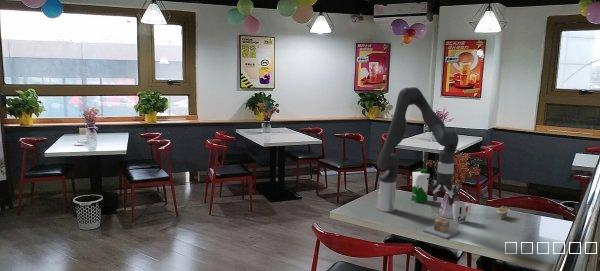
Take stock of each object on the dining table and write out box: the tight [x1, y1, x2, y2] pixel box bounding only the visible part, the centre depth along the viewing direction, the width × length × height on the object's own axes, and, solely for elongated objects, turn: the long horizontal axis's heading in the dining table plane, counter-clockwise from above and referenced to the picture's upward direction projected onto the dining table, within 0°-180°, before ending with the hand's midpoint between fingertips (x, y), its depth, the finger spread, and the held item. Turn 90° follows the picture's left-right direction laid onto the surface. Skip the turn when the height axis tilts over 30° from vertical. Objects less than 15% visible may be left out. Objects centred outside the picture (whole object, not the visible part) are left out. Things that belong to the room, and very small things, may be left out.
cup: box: [452, 200, 470, 224], centre depth 235 cm, size 8×8×10 cm
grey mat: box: [422, 224, 461, 240], centre depth 219 cm, size 13×13×1 cm
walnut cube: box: [433, 218, 450, 233], centre depth 219 cm, size 5×5×5 cm
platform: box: [496, 205, 511, 221], centre depth 242 cm, size 12×18×7 cm, turn 134°
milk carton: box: [411, 168, 431, 204], centre depth 270 cm, size 9×9×20 cm
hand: (443, 202), depth 217 cm, fingers open, 8 cm apart
